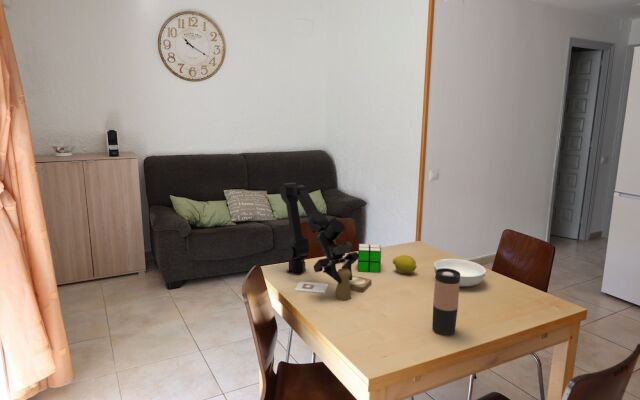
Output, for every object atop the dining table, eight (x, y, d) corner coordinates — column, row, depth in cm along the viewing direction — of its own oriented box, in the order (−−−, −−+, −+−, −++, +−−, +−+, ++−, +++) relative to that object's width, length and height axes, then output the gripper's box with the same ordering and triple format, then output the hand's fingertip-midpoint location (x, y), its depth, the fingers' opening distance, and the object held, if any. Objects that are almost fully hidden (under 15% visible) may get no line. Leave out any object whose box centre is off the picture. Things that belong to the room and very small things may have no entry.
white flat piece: (294, 290, 174) (294, 289, 174) (299, 282, 182) (299, 281, 182) (324, 293, 172) (324, 292, 172) (328, 284, 180) (328, 283, 180)
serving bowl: (429, 287, 180) (430, 271, 178) (436, 270, 199) (437, 256, 198) (483, 295, 172) (485, 279, 171) (485, 277, 191) (486, 262, 190)
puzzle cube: (379, 265, 205) (380, 244, 203) (380, 273, 195) (381, 251, 193) (357, 264, 205) (358, 243, 204) (357, 271, 196) (358, 250, 194)
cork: (352, 294, 170) (354, 267, 168) (348, 301, 165) (349, 273, 162) (337, 292, 172) (338, 265, 170) (333, 298, 166) (334, 271, 164)
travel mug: (428, 325, 147) (432, 268, 143) (450, 324, 148) (455, 268, 144) (436, 336, 140) (440, 276, 136) (459, 335, 141) (464, 276, 137)
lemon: (419, 273, 195) (421, 256, 193) (411, 278, 189) (412, 260, 187) (398, 267, 202) (399, 251, 200) (389, 272, 196) (390, 255, 194)
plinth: (339, 287, 177) (339, 282, 177) (348, 279, 186) (348, 274, 186) (363, 292, 173) (363, 287, 173) (371, 283, 182) (371, 278, 182)
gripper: (318, 239, 161) (336, 277, 155) (357, 231, 172) (375, 267, 166) (306, 253, 169) (322, 290, 163) (344, 245, 180) (360, 280, 173)
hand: (346, 281), depth 166 cm, fingers closed on cork, 5 cm apart
